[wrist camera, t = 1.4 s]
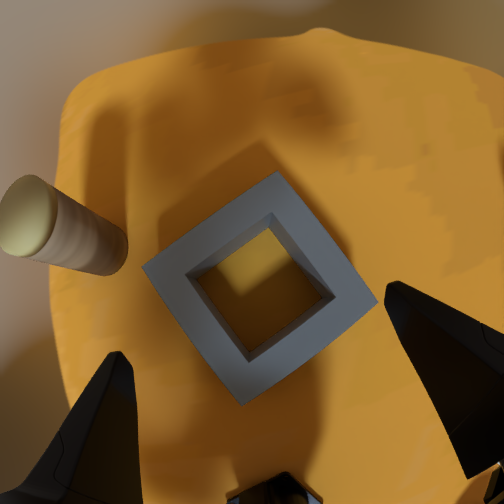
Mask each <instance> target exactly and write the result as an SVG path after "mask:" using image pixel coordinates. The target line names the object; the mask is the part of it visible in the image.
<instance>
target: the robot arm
mask: <svg viewBox="0 0 504 504" xmlns="http://www.w3.org/2000/svg"><path fill="white" fill-rule="evenodd" d="M384 305H385V308H386V311H387V313H388V315H389V317H390V320H391V322H392V324H393V326H394V329H395V331H396V333H397V336H398V338H399V340H400V342H401V344H402V346H403V348H404V350H405V352H406V353H407V355H408V357H409V359H410V361H411V362H412V364H413V366H414V368H415V370H416V372H417V374H418V375H419V377H420V379H421V381H422V383H423V385H424V387H425V389H426V391H427V393H428V395H429V397H430V399H431V401H432V403H433V405H434V407H435V409H436V411H437V413H438V415H439V417H440V419H441V421H442V423H443V425H444V427H445V430H446V432H447V434H448V435H449V439H450V441H451V443H452V445H453V448H454V450H455V452H456V455H457V457H458V459H459V462H460V464H461V466H462V469H463V471H464V474H465V476H466V478H467V480H468V479H470V478H472V477H474V476H476V475H478V474H479V473H481V472H483V471H485V470H486V469H488V468H490V467H492V466H493V465H495V464H496V463H498V462H499V463H500V466H499V467H498V468H497V469H496V470H494V471H493V472H492V475H491V479H490V482H489V485H488V488H487V491H486V494H485V497H484V503H485V504H504V334H503V333H500V332H498V331H496V330H495V329H493V328H491V327H489V326H487V325H485V324H483V323H480V322H479V321H477V320H475V319H474V318H472V317H470V316H468V315H466V314H464V313H462V312H460V311H458V310H456V309H454V308H452V307H451V306H449V305H447V304H445V303H443V302H441V301H439V300H437V299H435V298H433V297H431V296H429V295H427V294H425V293H423V292H421V291H419V290H417V289H415V288H413V287H411V286H409V285H407V284H405V283H403V282H401V281H394V282H391V283H388V284H387V286H386V292H385V298H384ZM284 476H287V478H283V477H284ZM230 503H234V504H322V503H321V502H320V501H319V500H318V499H317V498H316V497H314V496H313V495H312V494H311V493H310V492H309V491H308V490H307V489H306V488H305V487H304V486H303V485H302V484H301V483H299V482H298V481H297V480H296V479H295V478H294V477H293V476H292V475H291V474H290V473H289V472H282V473H280V474H278V475H277V476H275V477H273V478H271V479H269V480H267V481H266V482H261V483H259V484H258V485H256V486H254V487H252V488H250V489H248V490H245V491H243V492H241V493H240V494H239V495H237V496H235V497H233V498H231V499H229V500H227V504H230ZM0 504H143V498H142V488H141V477H140V463H139V445H138V413H137V401H136V392H135V383H134V372H133V367H132V365H131V364H130V362H129V361H128V360H127V358H126V357H125V356H124V354H123V353H122V352H121V351H115V352H110V353H109V354H108V355H107V356H106V358H105V359H104V361H103V362H102V364H101V365H100V366H99V368H98V369H97V371H96V372H95V374H94V375H93V377H92V378H91V380H90V381H89V383H88V384H87V386H86V387H85V389H84V390H83V392H82V394H81V395H80V397H79V398H78V400H77V401H76V403H75V404H74V406H73V408H72V409H71V411H70V412H69V414H68V415H67V417H66V419H65V420H64V422H63V424H62V425H61V427H60V428H59V431H58V432H57V433H56V435H55V437H54V438H53V440H52V441H51V443H50V445H49V446H48V448H47V449H46V451H45V452H44V454H43V455H42V456H41V458H40V459H39V461H38V462H37V464H36V465H35V466H34V468H33V469H32V471H31V472H30V474H29V475H28V476H27V478H26V479H25V480H24V482H23V483H22V484H21V485H19V486H18V487H16V488H15V489H13V490H10V491H7V492H4V493H1V494H0Z"/></svg>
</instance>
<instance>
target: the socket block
mask: <svg viewBox="0 0 504 504" xmlns="http://www.w3.org/2000/svg"><path fill="white" fill-rule="evenodd" d="M268 227H269V228H270V230H271V231H272V232H273V234H274V235H275V236H276V237H277V239H278V240H279V241H280V243H281V244H282V245H283V247H284V248H285V249H286V251H287V252H288V253H289V255H290V256H291V257H292V259H293V260H294V261H295V262H296V264H297V265H298V266H299V268H300V269H301V270H302V272H303V273H304V274H305V276H306V277H307V278H308V280H309V281H310V283H311V284H312V285H313V287H314V288H315V289H316V291H317V292H318V293H319V295H320V296H321V297H322V299H321V300H319V301H318V302H317V303H316V304H314V305H313V306H312V307H310V308H309V309H308V310H307V311H305V312H304V313H303V314H301V315H300V316H299V317H297V318H296V319H295V320H293V321H292V322H291V323H290V324H288V325H287V326H286V327H284V328H283V329H281V330H280V331H279V332H277V333H276V334H275V335H273V336H272V337H271V338H269V339H268V340H266V341H265V342H264V343H262V344H261V345H259V346H258V347H257V348H255V349H254V350H252V351H251V352H249V351H248V350H247V349H246V347H245V346H244V345H243V343H242V342H241V341H240V339H239V338H238V337H237V335H236V334H235V333H234V331H233V330H232V329H231V327H230V326H229V325H228V323H227V322H226V320H225V319H224V318H223V316H222V315H221V314H220V312H219V311H218V309H217V308H216V307H215V305H214V304H213V302H212V301H211V300H210V298H209V297H208V295H207V294H206V293H205V291H204V290H203V288H202V287H201V286H200V284H199V283H198V281H197V280H196V279H197V278H199V277H200V276H202V275H203V274H204V273H206V272H207V271H208V270H210V269H211V268H213V267H214V266H215V265H217V264H218V263H220V262H221V261H222V260H224V259H225V258H226V257H228V256H229V255H231V254H232V253H233V252H235V251H236V250H237V249H239V248H240V247H242V246H243V245H244V244H246V243H247V242H249V241H250V240H251V239H253V238H254V237H256V236H257V235H258V234H260V233H261V232H263V231H264V230H265V229H267V228H268ZM142 268H143V270H144V272H145V273H146V275H147V276H148V278H149V280H150V281H151V283H152V284H153V286H154V287H155V289H156V291H157V292H158V294H159V295H160V297H161V298H162V300H163V301H164V303H165V304H166V306H167V307H168V309H169V310H170V312H171V313H172V315H173V316H174V318H175V319H176V321H177V322H178V323H179V325H180V326H181V328H182V329H183V331H184V332H185V333H186V335H187V336H188V338H189V339H190V340H191V342H192V343H193V345H194V346H195V347H196V349H197V350H198V351H199V353H200V354H201V355H202V357H203V358H204V359H205V361H206V362H207V363H208V365H209V366H210V367H211V369H212V370H213V371H214V373H215V374H216V375H217V376H218V378H219V379H220V380H221V381H222V383H223V384H224V385H225V387H226V388H227V389H228V390H229V392H230V393H231V394H232V395H233V396H234V398H235V399H236V400H237V401H238V403H239V404H240V405H241V406H243V405H245V404H246V403H248V402H249V401H251V400H252V399H254V398H255V397H257V396H258V395H260V394H261V393H263V392H264V391H266V390H267V389H269V388H270V387H272V386H273V385H275V384H276V383H278V382H279V381H280V380H282V379H283V378H285V377H286V376H287V375H289V374H290V373H292V372H293V371H294V370H296V369H297V368H299V367H300V366H301V365H303V364H304V363H305V362H307V361H308V360H309V359H311V358H312V357H313V356H314V355H316V354H317V353H318V352H320V351H321V350H322V349H324V348H325V347H326V346H327V345H329V344H330V343H331V342H332V341H334V340H335V339H336V338H337V337H339V336H340V335H341V334H342V333H343V332H345V331H346V330H347V329H348V328H349V327H351V326H352V325H353V324H354V323H355V322H357V321H358V320H359V319H360V318H361V317H362V316H364V315H365V314H366V313H367V312H368V311H369V310H370V309H371V308H373V307H374V306H375V305H376V304H377V303H378V301H377V299H376V298H375V297H374V295H373V294H372V292H371V291H370V289H369V288H368V287H367V285H366V284H365V282H364V281H363V279H362V278H361V277H360V275H359V274H358V273H357V271H356V270H355V268H354V267H353V266H352V264H351V263H350V262H349V260H348V259H347V257H346V256H345V255H344V253H343V252H342V251H341V249H340V248H339V247H338V245H337V244H336V243H335V241H334V240H333V239H332V237H331V236H330V235H329V234H328V232H327V231H326V230H325V228H324V227H323V226H322V225H321V223H320V222H319V221H318V219H317V218H316V217H315V216H314V214H313V213H312V212H311V211H310V209H309V208H308V207H307V206H306V204H305V203H304V202H303V201H302V199H301V198H300V197H299V196H298V194H297V193H296V192H295V191H294V190H293V188H292V187H291V186H290V185H289V183H288V182H287V181H286V180H285V179H284V177H283V176H282V175H281V174H280V173H279V172H278V170H277V171H276V172H274V173H273V174H271V175H270V176H268V177H267V178H265V179H264V180H262V181H261V182H259V183H258V184H256V185H255V186H253V187H252V188H250V189H249V190H247V191H246V192H244V193H243V194H241V195H240V196H238V197H237V198H235V199H234V200H233V201H231V202H230V203H228V204H227V205H225V206H224V207H222V208H221V209H220V210H218V211H217V212H215V213H214V214H213V215H211V216H210V217H208V218H207V219H205V220H204V221H203V222H201V223H200V224H198V225H197V226H196V227H194V228H193V229H192V230H190V231H189V232H187V233H186V234H185V235H183V236H182V237H181V238H179V239H178V240H176V241H175V242H174V243H172V244H171V245H170V246H168V247H167V248H166V249H164V250H163V251H162V252H160V253H159V254H158V255H156V256H155V257H154V258H152V259H151V260H150V261H148V262H147V263H146V264H144V265H143V266H142Z"/></svg>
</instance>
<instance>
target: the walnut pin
mask: <svg viewBox="0 0 504 504" xmlns="http://www.w3.org/2000/svg"><path fill="white" fill-rule="evenodd" d="M0 246H1V248H2V249H3V250H4V251H5V252H6V253H8V254H11V255H15V256H19V257H23V258H27V259H30V260H34V261H39V262H43V263H47V264H51V265H55V266H59V267H64V268H68V269H72V270H77V271H81V272H86V273H91V274H95V275H100V276H109V275H112V274H114V273H115V272H117V271H118V270H119V269H120V268H121V267H122V266H123V264H124V262H125V260H126V258H127V254H128V241H127V238H126V236H125V234H124V232H123V231H122V230H121V229H120V228H119V227H117V226H116V225H114V224H112V223H111V222H109V221H107V220H106V219H104V218H102V217H101V216H99V215H97V214H96V213H94V212H93V211H91V210H89V209H88V208H86V207H84V206H83V205H81V204H80V203H78V202H76V201H75V200H73V199H72V198H70V197H68V196H67V195H65V194H64V193H62V192H61V191H59V190H58V189H56V188H54V187H53V186H51V185H50V184H48V183H47V182H45V181H44V180H42V179H41V178H39V177H37V176H35V175H26V176H23V177H21V178H19V179H18V180H16V181H15V182H14V183H13V184H12V185H11V186H10V187H9V189H8V190H7V191H6V193H5V195H4V197H3V198H2V200H1V203H0Z"/></svg>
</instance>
